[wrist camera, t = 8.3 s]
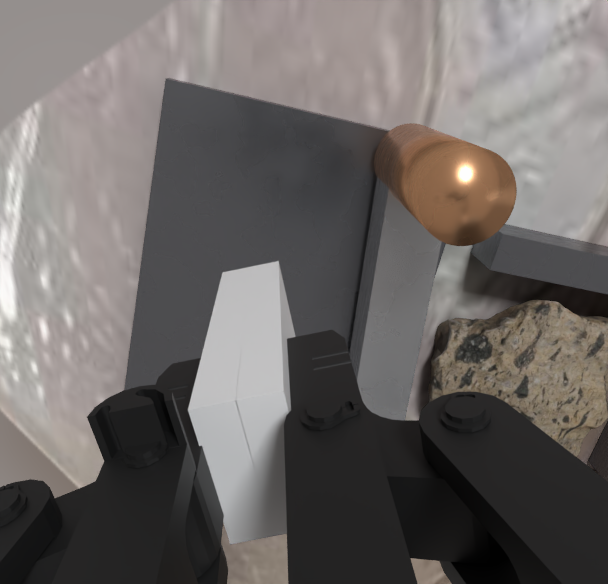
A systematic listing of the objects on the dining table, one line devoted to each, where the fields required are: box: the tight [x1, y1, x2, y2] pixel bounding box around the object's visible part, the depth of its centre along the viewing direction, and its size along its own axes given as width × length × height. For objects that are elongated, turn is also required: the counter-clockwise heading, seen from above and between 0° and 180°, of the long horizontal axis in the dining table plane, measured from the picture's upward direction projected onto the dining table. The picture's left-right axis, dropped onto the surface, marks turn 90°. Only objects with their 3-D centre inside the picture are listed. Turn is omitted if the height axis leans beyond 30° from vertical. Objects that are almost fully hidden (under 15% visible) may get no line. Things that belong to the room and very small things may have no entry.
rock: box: [428, 300, 608, 457], centre depth 34 cm, size 11×11×4 cm
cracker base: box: [125, 78, 608, 481], centre depth 31 cm, size 20×34×7 cm, turn 77°
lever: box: [349, 124, 516, 421], centre depth 28 cm, size 21×5×9 cm, turn 174°
